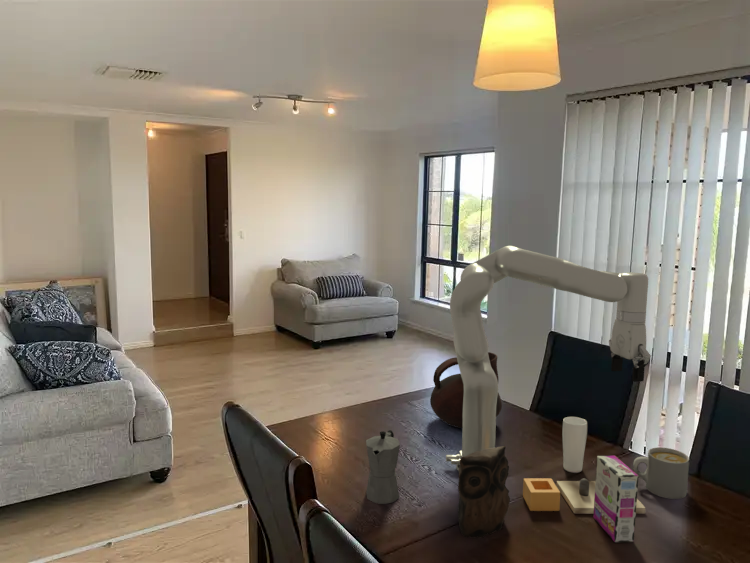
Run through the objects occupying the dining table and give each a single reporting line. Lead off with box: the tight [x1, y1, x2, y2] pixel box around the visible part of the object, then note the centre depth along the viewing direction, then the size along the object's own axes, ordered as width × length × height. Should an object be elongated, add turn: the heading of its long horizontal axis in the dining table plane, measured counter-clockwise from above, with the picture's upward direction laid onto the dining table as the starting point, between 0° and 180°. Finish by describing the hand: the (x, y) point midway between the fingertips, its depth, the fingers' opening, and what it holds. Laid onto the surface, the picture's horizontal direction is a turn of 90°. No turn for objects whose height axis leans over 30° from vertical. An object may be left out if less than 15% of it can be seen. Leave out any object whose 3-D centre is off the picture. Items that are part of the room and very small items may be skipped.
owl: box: [457, 445, 511, 539], centre depth 136 cm, size 13×13×20 cm
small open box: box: [522, 477, 561, 512], centre depth 148 cm, size 7×7×5 cm
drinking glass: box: [561, 416, 588, 474], centre depth 166 cm, size 7×7×15 cm
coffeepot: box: [365, 429, 401, 505], centre depth 152 cm, size 15×9×18 cm, turn 162°
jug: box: [429, 351, 503, 429], centre depth 201 cm, size 25×25×25 cm
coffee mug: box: [632, 446, 690, 500], centre depth 155 cm, size 13×10×10 cm
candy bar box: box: [593, 455, 639, 543], centre depth 135 cm, size 11×5×16 cm, turn 5°
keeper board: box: [555, 477, 646, 515], centre depth 150 cm, size 18×14×6 cm
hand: (626, 375), depth 161 cm, fingers open, 9 cm apart
